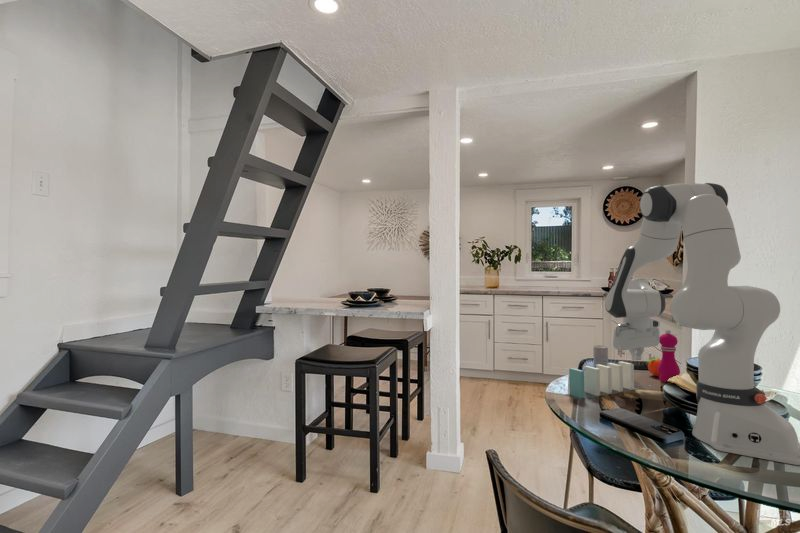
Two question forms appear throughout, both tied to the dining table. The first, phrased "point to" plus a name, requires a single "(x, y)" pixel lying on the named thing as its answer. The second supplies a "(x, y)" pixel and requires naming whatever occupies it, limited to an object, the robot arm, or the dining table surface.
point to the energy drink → (600, 355)
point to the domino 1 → (576, 382)
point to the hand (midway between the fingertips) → (636, 359)
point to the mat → (588, 395)
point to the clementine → (654, 366)
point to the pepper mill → (668, 357)
